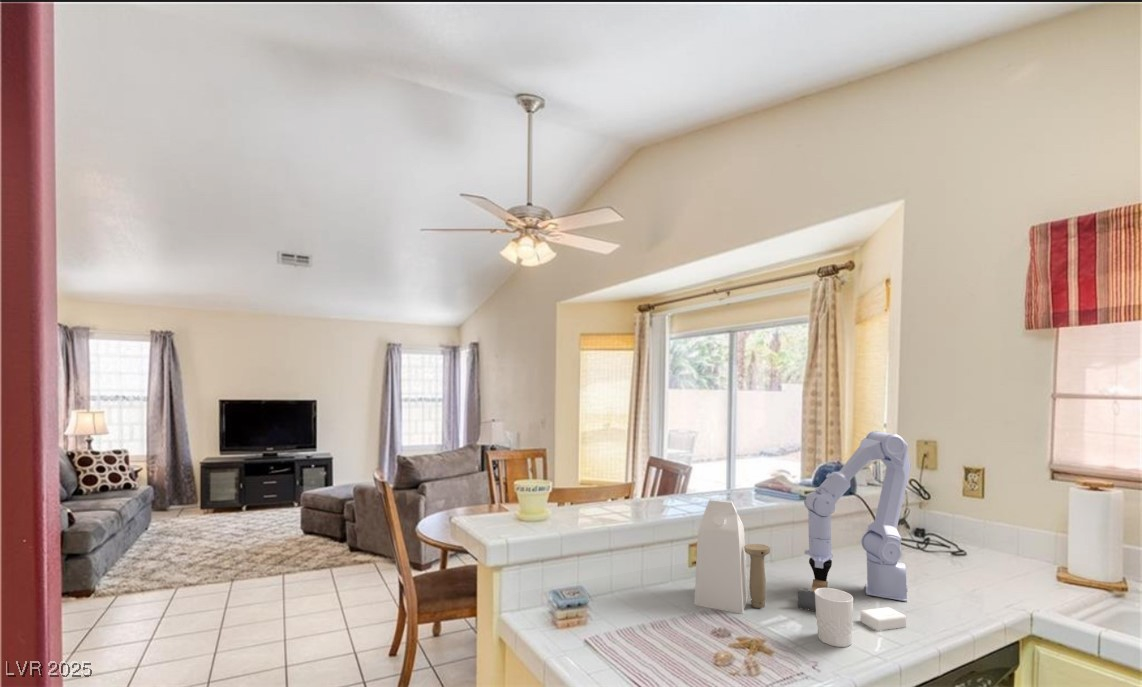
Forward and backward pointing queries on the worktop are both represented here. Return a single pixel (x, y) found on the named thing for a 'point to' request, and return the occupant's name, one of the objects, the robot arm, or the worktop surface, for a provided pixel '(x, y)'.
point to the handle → (757, 573)
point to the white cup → (834, 616)
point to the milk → (721, 559)
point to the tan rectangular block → (819, 584)
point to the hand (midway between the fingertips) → (820, 586)
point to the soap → (883, 618)
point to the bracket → (806, 599)
